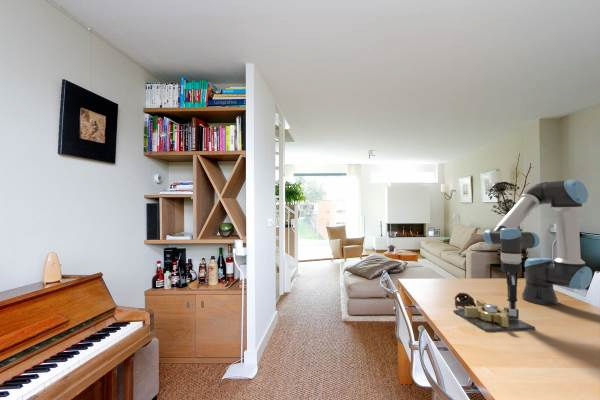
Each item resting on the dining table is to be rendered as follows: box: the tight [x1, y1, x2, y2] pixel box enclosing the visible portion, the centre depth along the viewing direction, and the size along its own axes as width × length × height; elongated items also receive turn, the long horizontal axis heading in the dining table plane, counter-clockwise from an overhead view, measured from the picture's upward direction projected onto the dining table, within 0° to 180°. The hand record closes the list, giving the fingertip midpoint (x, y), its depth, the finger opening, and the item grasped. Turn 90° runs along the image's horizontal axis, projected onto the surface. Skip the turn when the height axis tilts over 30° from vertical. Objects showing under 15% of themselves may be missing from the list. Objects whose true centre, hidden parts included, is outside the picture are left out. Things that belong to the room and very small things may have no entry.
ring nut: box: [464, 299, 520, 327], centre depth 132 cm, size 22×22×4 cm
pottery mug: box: [454, 292, 477, 308], centre depth 150 cm, size 12×10×8 cm
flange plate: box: [453, 303, 536, 332], centre depth 132 cm, size 22×22×6 cm
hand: (512, 315), depth 129 cm, fingers closed
